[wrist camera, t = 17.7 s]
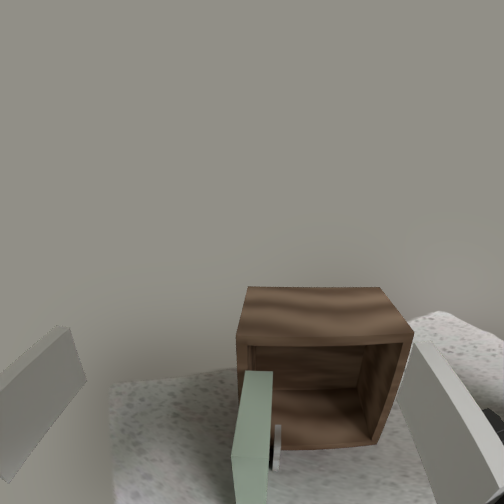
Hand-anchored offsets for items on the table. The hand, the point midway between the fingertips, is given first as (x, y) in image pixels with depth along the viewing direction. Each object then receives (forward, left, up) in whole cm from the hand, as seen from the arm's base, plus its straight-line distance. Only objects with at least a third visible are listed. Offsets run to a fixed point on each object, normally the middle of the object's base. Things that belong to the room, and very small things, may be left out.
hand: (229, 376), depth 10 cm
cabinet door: (-11, -6, -30) cm, 32 cm away
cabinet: (-24, -6, -30) cm, 39 cm away
